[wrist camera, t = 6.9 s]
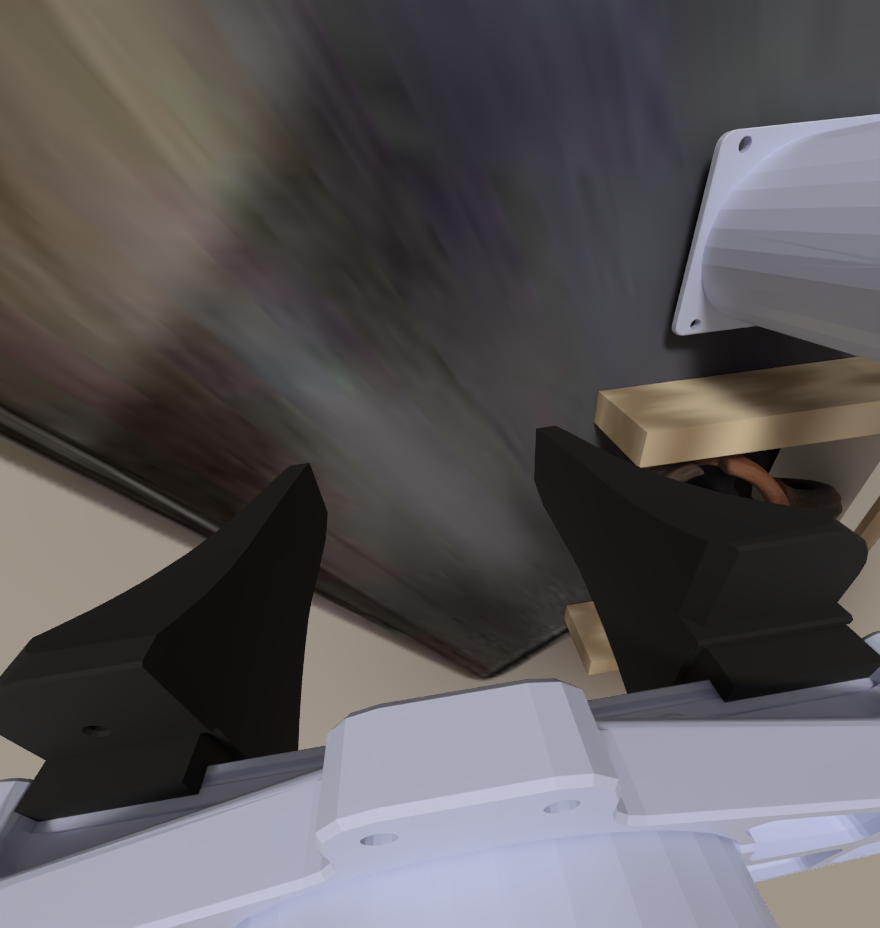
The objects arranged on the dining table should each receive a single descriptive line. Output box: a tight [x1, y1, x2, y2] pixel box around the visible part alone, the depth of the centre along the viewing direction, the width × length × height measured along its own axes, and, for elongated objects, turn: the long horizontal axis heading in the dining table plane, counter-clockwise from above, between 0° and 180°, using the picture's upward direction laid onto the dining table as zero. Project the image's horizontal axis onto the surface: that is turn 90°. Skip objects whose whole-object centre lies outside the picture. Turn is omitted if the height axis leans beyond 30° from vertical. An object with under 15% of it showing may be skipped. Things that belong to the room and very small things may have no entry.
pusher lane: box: [564, 357, 880, 675], centre depth 26 cm, size 18×22×5 cm
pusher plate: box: [769, 434, 880, 532], centre depth 26 cm, size 2×17×5 cm, turn 5°
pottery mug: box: [642, 454, 842, 519], centre depth 24 cm, size 12×9×8 cm
